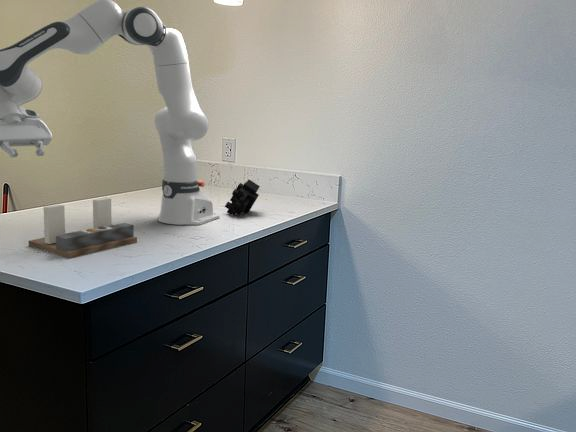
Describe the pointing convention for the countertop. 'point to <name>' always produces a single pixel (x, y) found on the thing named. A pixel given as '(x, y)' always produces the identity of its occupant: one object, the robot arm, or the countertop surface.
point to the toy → (243, 198)
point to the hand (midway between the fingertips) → (28, 155)
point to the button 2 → (101, 212)
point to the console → (88, 240)
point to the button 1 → (53, 222)
